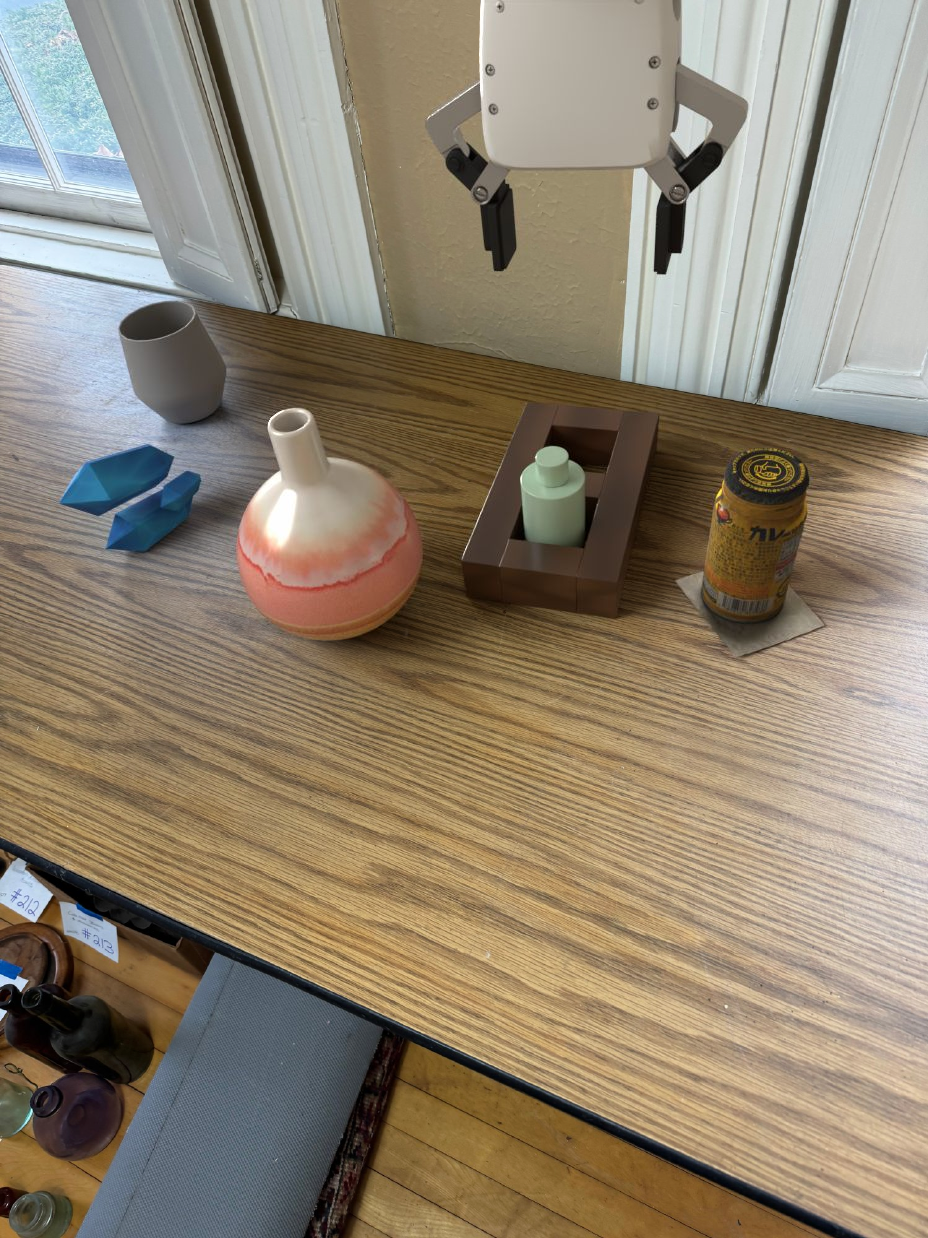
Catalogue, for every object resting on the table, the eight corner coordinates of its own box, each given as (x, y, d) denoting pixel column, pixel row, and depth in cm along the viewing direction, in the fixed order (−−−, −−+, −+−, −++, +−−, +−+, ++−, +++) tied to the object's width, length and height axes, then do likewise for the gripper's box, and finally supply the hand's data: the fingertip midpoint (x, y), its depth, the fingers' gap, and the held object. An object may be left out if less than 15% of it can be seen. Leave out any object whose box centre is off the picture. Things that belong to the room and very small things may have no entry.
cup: (248, 382, 92) (219, 294, 84) (220, 435, 85) (185, 345, 78) (167, 383, 93) (130, 296, 86) (133, 435, 87) (91, 347, 80)
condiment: (757, 553, 67) (784, 426, 58) (824, 626, 61) (864, 499, 53) (674, 582, 66) (688, 458, 57) (734, 660, 60) (760, 535, 51)
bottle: (590, 538, 70) (591, 438, 63) (578, 579, 67) (577, 480, 60) (533, 531, 71) (527, 432, 64) (519, 571, 68) (511, 473, 61)
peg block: (656, 450, 77) (659, 412, 74) (615, 619, 64) (617, 582, 61) (528, 438, 80) (526, 401, 77) (466, 596, 67) (460, 560, 64)
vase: (465, 578, 69) (436, 389, 55) (362, 699, 62) (301, 516, 48) (335, 526, 74) (281, 344, 61) (227, 632, 67) (140, 452, 54)
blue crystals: (211, 442, 73) (83, 494, 65) (225, 529, 78) (108, 586, 71) (158, 416, 76) (31, 463, 69) (175, 501, 82) (59, 552, 74)
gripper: (778, -138, 39) (735, 235, 52) (423, -100, 44) (463, 233, 56) (769, -103, 35) (724, 297, 47) (373, -66, 39) (429, 289, 52)
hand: (582, 262), depth 52 cm, fingers open, 9 cm apart
